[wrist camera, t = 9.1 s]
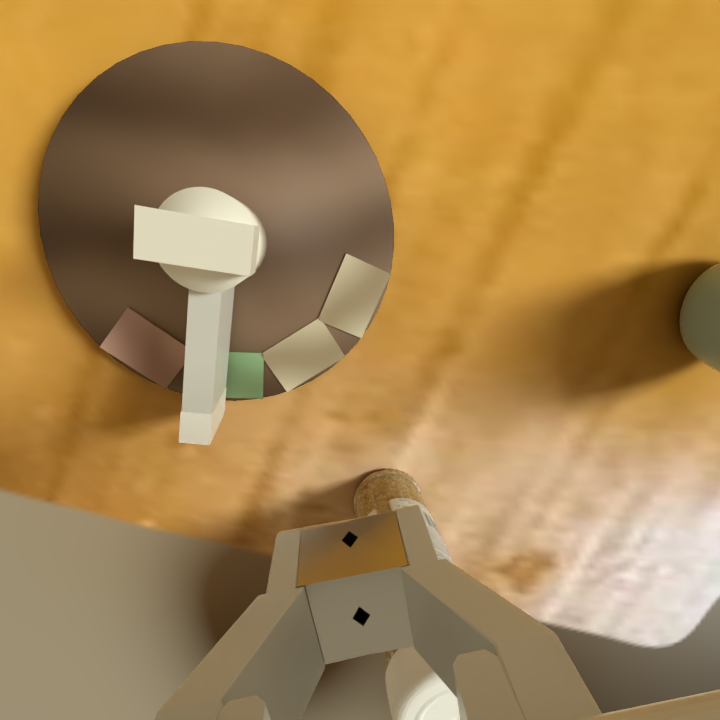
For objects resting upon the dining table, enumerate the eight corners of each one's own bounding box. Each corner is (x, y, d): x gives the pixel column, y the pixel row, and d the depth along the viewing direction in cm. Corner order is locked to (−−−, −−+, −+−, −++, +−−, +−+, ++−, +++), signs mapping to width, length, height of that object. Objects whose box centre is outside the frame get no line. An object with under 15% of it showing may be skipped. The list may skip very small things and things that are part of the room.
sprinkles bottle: (338, 495, 27) (368, 724, 14) (394, 453, 27) (476, 649, 14) (379, 538, 28) (441, 784, 16) (433, 499, 28) (542, 717, 15)
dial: (2, 64, 19) (-19, 52, 18) (375, 42, 20) (380, 29, 19) (105, 412, 24) (94, 421, 22) (400, 372, 25) (405, 379, 24)
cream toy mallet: (185, 190, 20) (135, 170, 14) (271, 206, 20) (257, 192, 15) (173, 407, 23) (128, 465, 17) (249, 414, 23) (231, 473, 17)
